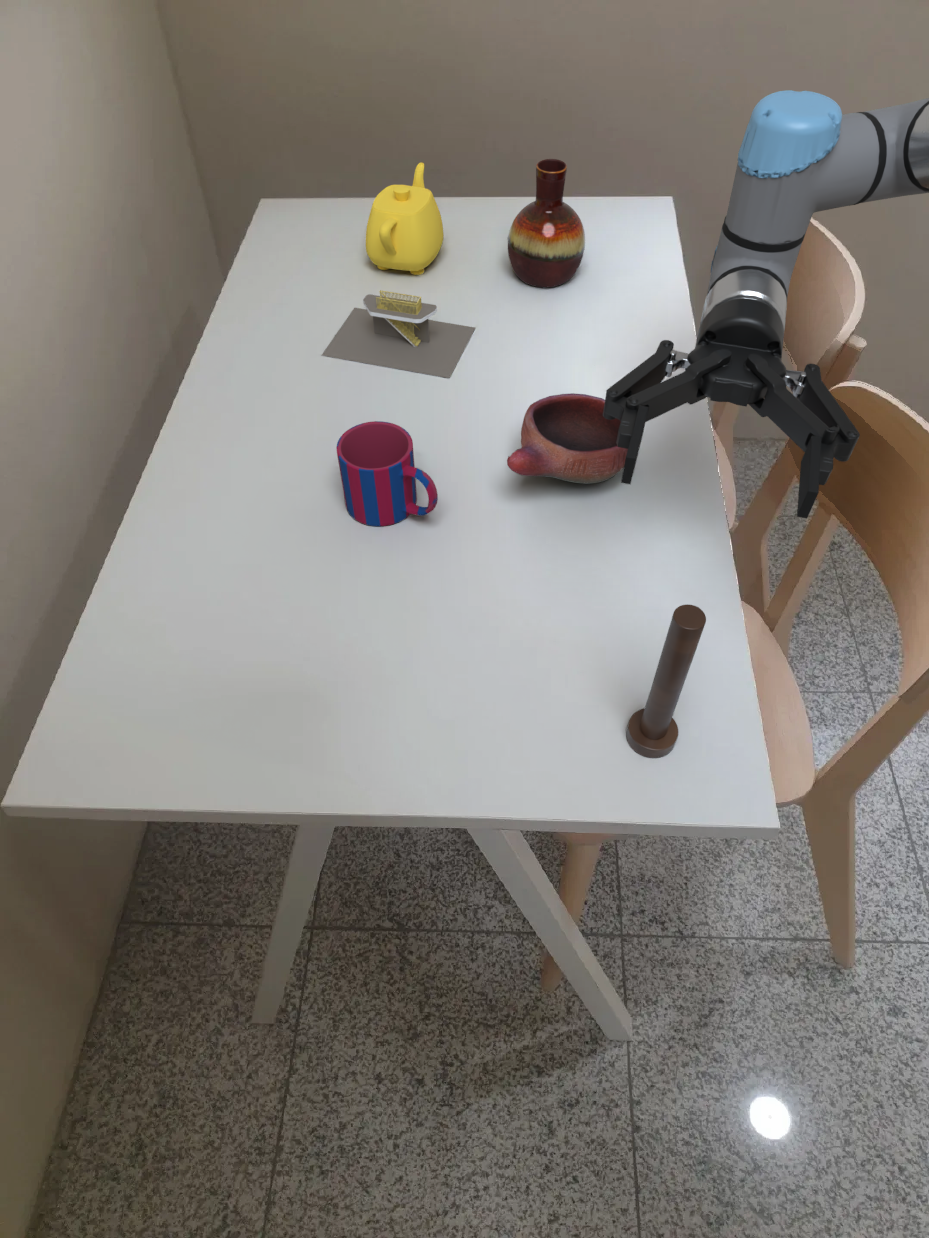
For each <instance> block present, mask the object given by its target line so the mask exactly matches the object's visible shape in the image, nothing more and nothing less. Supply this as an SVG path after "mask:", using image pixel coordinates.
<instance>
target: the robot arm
mask: <svg viewBox="0 0 929 1238" xmlns="http://www.w3.org/2000/svg"><path fill="white" fill-rule="evenodd" d="M734 173H735V174H734V178H733V184H732V188H731V192H730V198H729V202H728V206H727V211H726V215H725V216H724V220H723V223H722V226H721V230H720V233H719V238H718V241H717V245H716V247H715V250H714V254H713V257H712V261H711V264H710V265H711V266H710V276H709V282H708V288H707V294H706V295H705V299H704V304H703V307H702V314H701V318H700V322H699V329H698V331H697V337H696V340H695V346H694V349H692V350H691V351H690V352H689V353H687V352H684V351H679V350H675V349H674V346H675V344H674V341H672V340H669V339H662V340H661V341H660V342H659V344H658V347H657V348H656V351H655V352H654V353H653V354H652V355H650V356H649V357H648V358H647V359H646V360H645V359H644V361H642V362H641V363H640V364H639V365H637V366H636V367H634V369H632V370H630V371H629V372H628V373H627V374H626V375H624V376H623V377H622V378H620V379H619V380H617V381H616V382H615V383H613V384H612V385H611V386H610V387H609V388H606V391H605V392H606V393H605V397H604V400H605V404H604V411H603V417H604V418H605V419H608V420H613V419H615V418H617V419H619V420H620V421H621V423H620V426H619V430H618V436H617V442H616V443H617V446H618V447H620V448H626V449H628V451H627V455H626V459H625V464H624V468H623V469H622V470H623V471H622V475H621V481H620V483H621V484H624V485H631V484H632V480H633V476H634V473H635V469H636V463H637V459H638V456H639V452H640V449H641V444H642V440H643V435H644V431H645V426H646V423H647V422H650V421H652V420H653V419H657V417H660V416H662V415H664V414H666V413H669V412H671V411H673V410H675V409H676V408H680V407H681V406H683V405H685V404H689V405H695V404H696V403H698V402H700V401H703V400H705V399H708V398H709V401H710V402H711V401H712V402H718V403H729V404H734V405H736V406H741V407H746V408H747V406H748V405H749V407H750V408H751V409H753V410H754V412H755V413H757V415H759V416H760V418H766V417H767V418H768V419H769V420H771V421H772V422H773V424H775V426H777V427H778V428H779V429H780V430H781V431H782V432H783V433H784V434H785V435H786V436H787V437H788V438H789V439H790V440H791V441H792V442H793V443H794V444H795V445H797V446H798V448H799V449H801V451H803V452H804V453H803V455H802V458H801V461H800V468H799V482H798V484H799V485H798V496H797V498H798V500H797V511H796V517H798V518H803V519H808V517H809V515H810V513H811V511H812V509H813V506H814V504H815V502H816V500H817V497H818V495H819V493H820V491H819V490H820V486H825V485H826V484H827V482H828V480H829V478H830V477H831V474H832V472H833V470H834V459H835V460H836V461H839V462H841V463H846V462H848V461H849V460H850V457H851V455H852V453H853V452H854V449H855V447H856V445H857V443H858V441H859V438H860V436H861V435H860V432H859V430H858V429H857V427H856V426H855V425H854V423H853V422H852V420H851V419H850V418H849V417H848V415H847V414H846V412H845V411H844V409H843V408H842V407H841V405H840V404H839V402H838V401H837V400H836V398H835V397H834V396H833V393H831V391H830V389H828V387H827V386H826V384H825V383H824V382H823V380H822V374H821V367H820V366H819V365H818V364H817V363H816V364H815V363H807V364H806V365H805V366H804V369H803V371H802V370H793V369H787V367H786V365H785V364H784V363H783V361H782V359H783V348H784V341H785V329H786V321H787V319H786V318H787V308H788V296H789V290H790V284H791V280H792V275H793V272H794V269H795V267H796V266H795V265H796V263H797V261H798V256H799V253H800V251H801V247H802V245H803V242H804V239H805V236H806V234H807V231H808V228H809V225H810V222H811V220H812V217H813V214H815V213H818V212H823V211H828V210H834V209H839V208H843V207H851V206H856V205H859V204H864V203H869V202H877V201H882V200H887V199H894V198H900V197H907V196H908V197H909V196H915V195H923V194H929V97H926V98H922V99H918V100H914V101H911V102H906V103H902V104H896V105H892V106H887V107H881V108H876V109H870V110H866V111H857V112H850V113H844V114H843V112H842V108H841V106H840V105H839V104H838V103H837V102H836V101H835V100H834V99H833V98H831V97H829V96H827V95H824V94H822V93H820V92H814V91H809V90H802V91H795V90H791V89H790V90H789V89H787V90H786V89H785V90H780V91H775V92H773V93H769V94H768V95H766V96H764V97H763V98H761V99H760V100H759V101H758V102H757V104H756V105H755V106H754V108H753V109H752V111H751V115H750V118H749V121H748V123H747V125H746V129H745V132H744V135H743V139H742V141H741V145H740V147H739V150H738V152H737V163H736V169H735V172H734ZM679 369H684V371H682V372H680V373H678V374H676V375H674V376H673V373H675V372H676V371H677V370H679ZM665 377H666V378H667V379H665ZM664 379H665V380H664ZM788 388H789V389H790V390H789V389H788Z"/></svg>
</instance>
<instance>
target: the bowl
mask: <svg viewBox="0 0 929 1238" xmlns="http://www.w3.org/2000/svg"><path fill="white" fill-rule="evenodd" d="M604 404H605V398H602V397H599V396H594V395H589V394H585V393H574V392H573V393H559V394H554V395H549V396H546V397H543V398H541V399H538V400H536V401H535V402H533V403H531V404H530V405H529V407H527V409H526V411H525V413H524V417H523V421H522V424H521V431H520V437H521V438H520V444H521V445H520V446H521V447H520V448H518V449H516V450H514V451H513V452H512V453H511V454H510V455H508V456H507V459H506V464H507V467H508V468H509V469H510V470H511V471H512V472H514V473H516V474H517V475H519V476H527V477H546V478H552V479H553V478H554V479H556V480H557V479H558V480H561V481H565V482H568V483H569V482H570V483H575V484H585V485H586V484H588V485H589V484H597V483H602V482H605V481H607V480H609V479H611V478H613V477H615V476H616V475H618V474H619V473H620V472H621V471H622V470H624V464H625V459H626V455H627V451H628V449H626V448H620V447H618V446H617V443H616V442H617V436H618V430H619V426H620V423H621V421H620V420H619V419H617V418H615V419H613V420H608V419H605V418H604V417H603V411H604Z"/></svg>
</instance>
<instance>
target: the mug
mask: <svg viewBox="0 0 929 1238" xmlns="http://www.w3.org/2000/svg"><path fill="white" fill-rule="evenodd" d="M414 454H415V453H414V442H413V439H412V435H410V432H409V431H407V430H406V429H405V428H404V427H402V426H400V425H398V424H396V423H393V422H389V421H381V420H380V421H378V420H377V421H376V420H375V421H366V422H361V423H360V424H359V423H358V424H356V425H354V426H352V427H350V428H349V429H347V430H346V431H344V433H342V435H341V436H340V437H339V438H338V440H337V443H336V456H337V461H338V468H339V474H340V479H341V486H342V492H343V497H344V504H345V508H346V511H347V513H348V514H349V516H351V518H352V519H354V520H355V521H357V522H359V523H361V524H363V525H366V526H371V527H388V526H392V525H393V526H394V525H395V524H398V523H400V522H402V521H404V520H405V519H407V518H408V517H410V515H413V516H427V515H428V514H430V513H431V512H432V511H434V510H435V508H436V507H437V505H438V500H439V497H438V490H437V486H436V485H435V482H434V480H433V479H432V477H431V476H430V475H429V474H428V473H427V472H425V471H424V470H422V469H420V468H418V467H415V455H414ZM416 480H418V481H419V482H420V483H421V484H422V485H423V487H424V489H425V490H426V494H427V498H428V503H427V506H420V505H417V503H418V501H417V500H418V495H417V482H416Z"/></svg>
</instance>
